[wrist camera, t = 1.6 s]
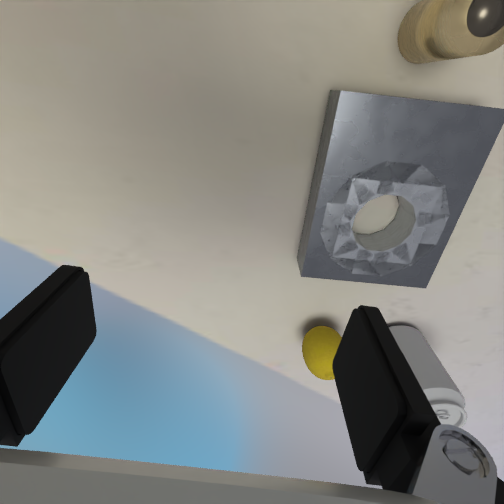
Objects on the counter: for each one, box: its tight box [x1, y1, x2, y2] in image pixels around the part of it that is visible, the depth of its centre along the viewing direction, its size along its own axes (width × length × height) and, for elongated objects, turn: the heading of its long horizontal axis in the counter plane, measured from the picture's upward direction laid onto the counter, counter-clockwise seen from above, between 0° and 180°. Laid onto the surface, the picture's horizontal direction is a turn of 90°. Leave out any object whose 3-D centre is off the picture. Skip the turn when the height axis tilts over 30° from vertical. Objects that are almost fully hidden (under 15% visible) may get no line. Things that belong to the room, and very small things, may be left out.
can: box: [389, 325, 467, 428], centre depth 37 cm, size 8×8×12 cm
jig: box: [297, 90, 504, 288], centre depth 30 cm, size 18×14×4 cm
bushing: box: [398, 0, 504, 64], centre depth 22 cm, size 4×4×8 cm
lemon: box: [302, 326, 342, 380], centre depth 38 cm, size 6×6×8 cm
